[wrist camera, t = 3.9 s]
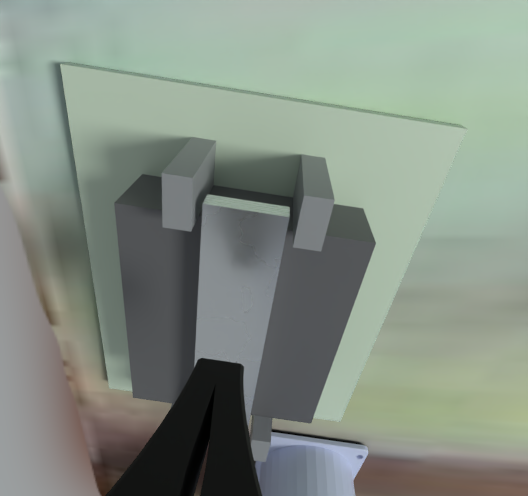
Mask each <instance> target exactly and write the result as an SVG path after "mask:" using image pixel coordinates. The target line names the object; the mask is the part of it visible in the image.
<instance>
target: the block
mask: <svg viewBox="0 0 528 496" xmlns="http://www.w3.org/2000/svg"><path fill="white" fill-rule="evenodd" d="M289 217H290V207H286V206H280V205H273V204H267V203H261V202H254V201H248V200H241V199H235V198H228V197H222V196H215V195H209V194H207V196H206V198H205V200H204V202H203V205H202V225H201V245H200V264H199V284H198V304H197V323H196V343H195V363H194V367H195V365H196V363H197V360H198V359H200V358H207V359H213V360H220V361H227V362H233V363H240V364H242V365H243V366H244V377H243V385H244V401H245V411H246V419H247V425H249V420H250V415H251V409H252V404H253V399H254V394H255V389H256V384H257V379H258V374H259V369H260V364H261V359H262V354H263V349H264V344H265V339H266V334H267V329H268V323H269V318H270V313H271V308H272V303H273V298H274V293H275V288H276V283H277V278H278V273H279V268H280V263H281V258H282V253H283V248H284V243H285V237H286V232H287V227H288V222H289Z"/></svg>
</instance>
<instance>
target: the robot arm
mask: <svg viewBox="0 0 528 496" xmlns="http://www.w3.org/2000/svg"><path fill="white" fill-rule="evenodd" d="M243 377H244V366H243V365H242V364H240V363H233V362H227V361H220V360H213V359H207V358H200V359H198V360H197V363H196V365H195V367H194V369H193V371H192V373H191V375H190V377H189V379H188V381H187V383H186V385H185V386H184V388H183V390H182V392H181V393H180V395H179V397H178V398H177V400H176V401H175V403H174V405H173V406H172V408H171V409H170V411H169V412H168V414H167V415H166V417H165V419H164V420H163V422H162V423H161V425H160V426H159V427H158V429H157V430H156V432H155V433H154V434H153V436H152V437H151V438H150V440H149V441H148V443H147V444H146V445H145V447H144V448H143V450H142V451H141V452H140V454H139V455H138V456H137V458H136V459H135V460H134V461H133V463H132V464H131V465H130V467H129V468H128V469H127V470H126V472H125V473H124V474H123V475H122V476H121V478H120V479H119V480H118V481H117V483H116V484H115V485H114V486H113V487H112V489H111V490H110V491H109V492H108V493H107V494H106V496H194V493H195V489H196V486H197V482H198V478H199V475H200V471H201V468H202V464H203V461H204V457H205V453H206V450H207V446H208V443H209V448H208V457H207V463H206V470H205V475H204V480H203V485H202V490H201V495H200V496H355V491H354V483H353V480H354V478H355V476H356V475H357V473H358V471H359V469H360V467H361V466H362V464H363V462H364V460H365V458H366V457H367V455H368V448H367V447H366V446H364V445H359V444H353V443H346V442H339V441H332V440H325V439H318V438H311V437H304V436H297V435H290V434H284V433H277V432H271V444H270V447H269V451H268V455H267V458H266V462H261V461H256V462H255V463H254V458H253V454H252V448H251V443H250V437H249V431H248V425H247V419H246V411H245V401H244V385H243Z"/></svg>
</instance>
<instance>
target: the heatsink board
mask: <svg viewBox="0 0 528 496" xmlns="http://www.w3.org/2000/svg"><path fill="white" fill-rule="evenodd" d="M60 67H61V73H62V80H63V87H64V93H65V100H66V106H67V113H68V119H69V126H70V133H71V139H72V146H73V152H74V159H75V165H76V172H77V179H78V185H79V192H80V198H81V205H82V212H83V218H84V225H85V231H86V238H87V244H88V251H89V258H90V264H91V271H92V277H93V284H94V291H95V297H96V304H97V310H98V317H99V323H100V330H101V337H102V343H103V350H104V356H105V363H106V370H107V376H108V383H109V388H112V389H119V390H126V391H132V392H133V398H140V399H147V400H153V401H160V402H167V403H172V406H173V405H174V403H175V401H176V400H177V398H178V397H179V395H180V393H181V392H182V390H183V388H184V386H185V385H186V383H187V381H188V379H189V377H190V375H191V373H192V371H193V369H194V363H195V343H196V323H197V304H198V284H199V264H200V245H201V225H202V205H203V202H204V200H205V198H206V196H207V194H209V195H215V196H222V197H228V198H235V199H241V200H248V201H254V202H261V203H267V204H273V205H280V206H286V207H290V217H289V222H288V227H287V232H286V237H285V243H284V248H283V253H282V258H281V263H280V268H279V273H278V278H277V283H276V288H275V293H274V298H273V303H272V308H271V313H270V318H269V323H268V329H267V334H266V339H265V344H264V349H263V354H262V359H261V364H260V369H259V374H258V379H257V384H256V389H255V394H254V399H253V404H252V409H251V415H252V423H251V432H250V443H251V448H252V454H253V458H254V461H261V462H266V458H267V455H268V451H269V447H270V444H271V429H272V418H277V419H284V420H291V421H298V422H304V423H311V422H312V419H313V418H318V419H325V420H332V421H339V422H340V421H341V419H342V416H343V414H344V412H345V409H346V407H347V405H348V402H349V400H350V398H351V396H352V393H353V391H354V389H355V386H356V384H357V382H358V380H359V377H360V375H361V373H362V370H363V368H364V366H365V363H366V361H367V359H368V357H369V354H370V352H371V350H372V347H373V345H374V343H375V340H376V338H377V336H378V334H379V331H380V329H381V327H382V324H383V322H384V320H385V318H386V315H387V313H388V311H389V308H390V306H391V304H392V301H393V299H394V297H395V295H396V292H397V290H398V288H399V285H400V283H401V281H402V279H403V276H404V274H405V272H406V269H407V267H408V265H409V262H410V260H411V258H412V256H413V253H414V251H415V249H416V246H417V244H418V242H419V239H420V237H421V235H422V233H423V230H424V228H425V226H426V223H427V221H428V219H429V217H430V214H431V212H432V210H433V207H434V205H435V203H436V200H437V198H438V196H439V194H440V191H441V189H442V187H443V184H444V182H445V180H446V178H447V175H448V173H449V171H450V168H451V166H452V164H453V161H454V159H455V157H456V155H457V152H458V150H459V148H460V145H461V143H462V141H463V138H464V136H465V134H466V132H467V128H465V127H463V126H462V125H456V124H450V123H444V122H438V121H431V120H425V119H419V118H413V117H406V116H400V115H394V114H388V113H381V112H375V111H369V110H363V109H356V108H350V107H344V106H338V105H331V104H325V103H319V102H313V101H306V100H300V99H294V98H288V97H281V96H275V95H269V94H263V93H256V92H250V91H244V90H238V89H231V88H225V87H219V86H213V85H206V84H200V83H194V82H188V81H181V80H175V79H169V78H163V77H156V76H150V75H144V74H138V73H131V72H125V71H119V70H113V69H106V68H100V67H94V66H88V65H81V64H75V63H69V62H68V63H63V64H60ZM172 406H171V408H172Z"/></svg>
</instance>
